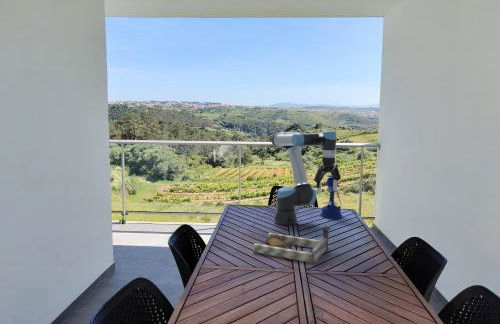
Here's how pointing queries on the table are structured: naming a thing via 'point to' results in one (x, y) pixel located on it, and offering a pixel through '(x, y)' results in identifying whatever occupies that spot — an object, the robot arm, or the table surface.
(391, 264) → the table surface
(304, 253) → the bay
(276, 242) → the stone
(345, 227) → the table surface
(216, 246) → the table surface
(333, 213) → the lantern
